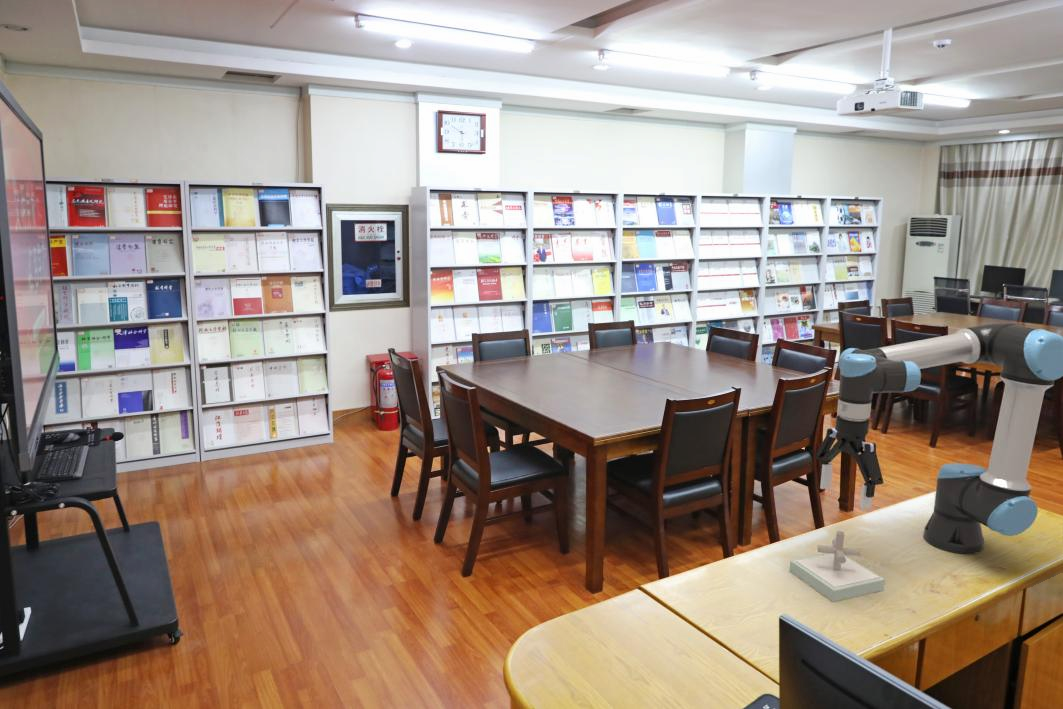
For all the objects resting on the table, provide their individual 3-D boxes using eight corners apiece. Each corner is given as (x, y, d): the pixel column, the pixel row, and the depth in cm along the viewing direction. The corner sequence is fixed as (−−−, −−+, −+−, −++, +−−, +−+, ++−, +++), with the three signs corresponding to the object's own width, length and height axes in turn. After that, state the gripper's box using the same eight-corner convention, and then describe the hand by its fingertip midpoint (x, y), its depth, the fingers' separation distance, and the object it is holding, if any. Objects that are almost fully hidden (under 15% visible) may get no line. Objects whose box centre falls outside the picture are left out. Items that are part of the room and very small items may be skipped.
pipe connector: (861, 580, 185) (865, 543, 183) (819, 576, 187) (822, 539, 185) (853, 561, 195) (857, 526, 193) (813, 557, 197) (817, 522, 195)
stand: (837, 561, 202) (838, 550, 201) (883, 590, 187) (885, 578, 187) (789, 571, 196) (790, 559, 196) (833, 601, 182) (834, 589, 181)
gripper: (805, 404, 193) (798, 481, 197) (881, 433, 170) (871, 520, 175) (828, 402, 195) (821, 478, 200) (906, 430, 173) (895, 515, 177)
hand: (844, 498), depth 187 cm, fingers open, 13 cm apart
